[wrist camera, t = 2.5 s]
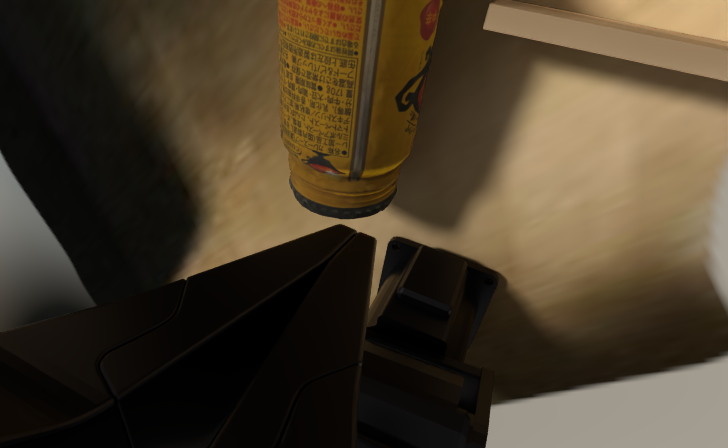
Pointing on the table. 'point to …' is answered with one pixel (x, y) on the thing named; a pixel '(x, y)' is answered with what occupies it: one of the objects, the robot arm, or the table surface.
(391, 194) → the condiment
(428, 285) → the robot arm
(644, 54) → the wooden bracket
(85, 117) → the table surface
